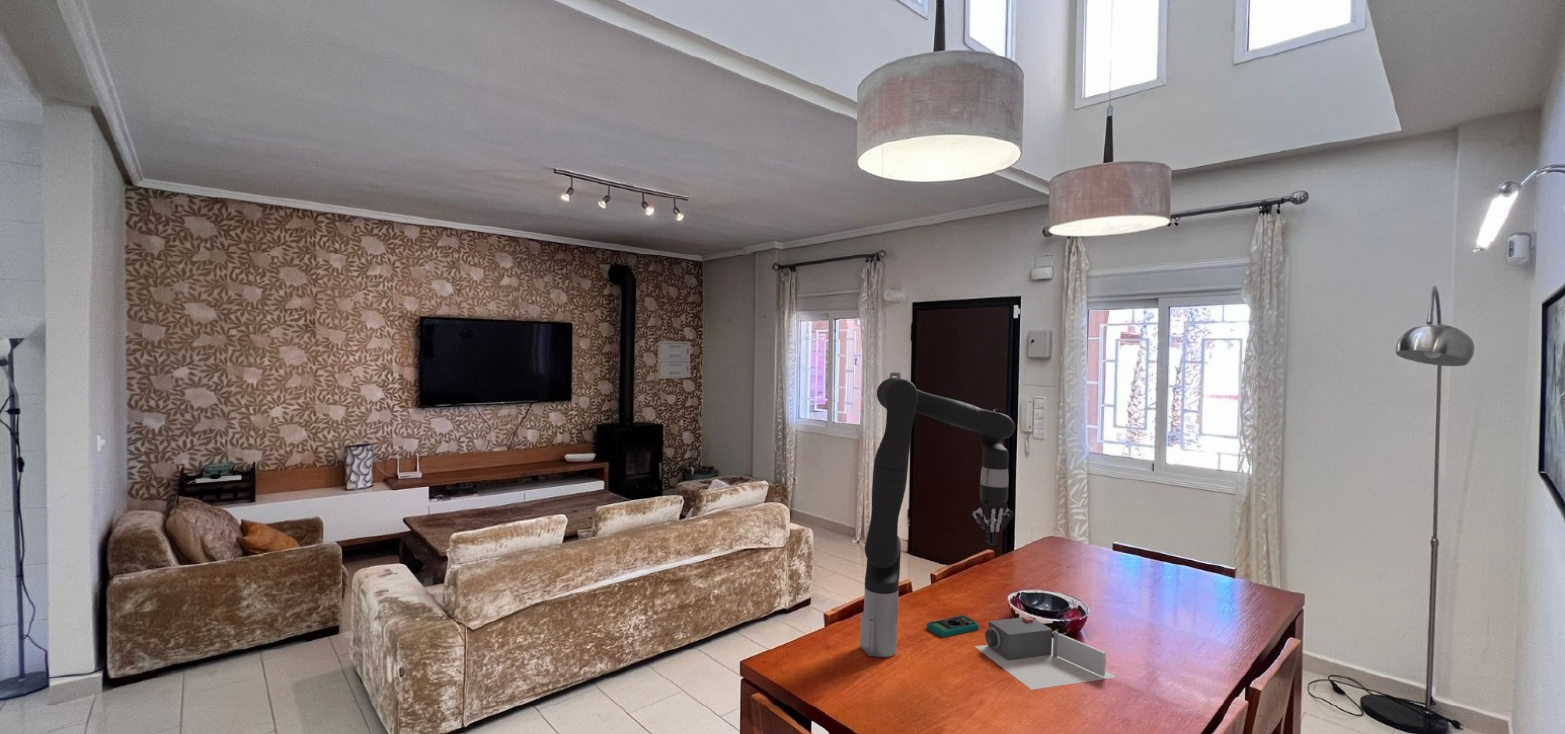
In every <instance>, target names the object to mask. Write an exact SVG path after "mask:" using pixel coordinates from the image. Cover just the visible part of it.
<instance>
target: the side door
mask: <svg viewBox="0 0 1565 734" xmlns="http://www.w3.org/2000/svg"><path fill="white" fill-rule="evenodd" d="M1052 638H1053V656H1058V657H1061V658H1063V659H1065V660H1067V661H1070V662H1072V663H1074V664H1076V665H1078V666H1081V667H1083V668H1085V669H1087V670H1090V671H1092V672H1094V673H1096V674H1099V675H1101V676H1105V670H1106V666H1107V665H1106V663H1107V662H1106V660H1107V658H1106V657H1107V652H1105V651H1103V650H1101V649H1098V648H1096V647H1093V646H1091V645H1089V644H1086V643H1083V642H1082V641H1078V640H1077V639H1075V638H1072V637H1069V636H1067V635H1064V634H1062V633H1059V631H1056V630H1055V631H1053V636H1052Z"/></svg>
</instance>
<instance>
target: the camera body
mask: <svg viewBox="0 0 1565 734" xmlns="http://www.w3.org/2000/svg"><path fill="white" fill-rule="evenodd" d="M984 635H985V637H984V639H985V640H986V643H987V644H986V645H988V646H989V647H990V648H992V649H993V650H994V651H996V652H997V653H999V654H1000V655H1001V656H1003V657H1004V658H1005V659H1007V660H1016V659H1023V658H1031V657H1039V656H1046V655H1051V652H1052V638H1053V629H1052V628H1050V627H1048V626H1047V625H1045V624H1044V623H1042V622H1040V621H1039V620H1037V619H1035V618H1033V617H1032V616H1023V617H1014V618H1013V617H1012V618H1006V619H1004V618H1003V619H996V620H989V621H988V629H987V630H986V631H985V634H984Z"/></svg>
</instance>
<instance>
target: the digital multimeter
mask: <svg viewBox="0 0 1565 734" xmlns="http://www.w3.org/2000/svg"><path fill="white" fill-rule="evenodd" d="M979 626H980V625H979V624H978V622H976V621H975V620H973V619H972V618H970V617H967V616H966V615H964V614H963V615H957V616H954V617H948V618H943V619H938V620H933V621H929V622H927V623H926V629H927V630H929V631H930V632H931V633H933V634H935V635H937V636H938V637H940V638H949V637H952V636H955V635H960V634H964V633H970V632H974V631H978V630H980V629H979V628H980V627H979Z"/></svg>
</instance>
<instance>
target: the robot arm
mask: <svg viewBox="0 0 1565 734" xmlns="http://www.w3.org/2000/svg"><path fill="white" fill-rule="evenodd" d="M876 397H877V400H878V402H879V404H880V405H881V406H882V407H883V408H884V409H886V420H885V428H884V434H883V437H882V439H881V441H880V443H879V446H878V448H877V451H876V453H875V457H874V462H873V470H872V471H873V472H872V482H871V484H872V485H871V514H870V522H869V527H868V531H867V532H868V533H867V536H866V541H865V543H864V544H865V545H864V554H865V557H866V569H865V576H864V595H863V597H864V598H863V599H864V600H863V601H864V603H863V612H861V613H860V630H859V631H860V632H859V633H860V634H859V647H860V649H861V650H862V651H863V652H864V653H865V654H866V655H867V656H868V657H878V658H889V657H892V656H894V655H896V653H897V646H898V644H897V642H898V641H897V640H898V639H897V638H898V614H899V613H898V610H899V586H900V585H899V584H900V573H901V572H900V571H901V553H902V552H901V551H902V550H901V549H902V547H901V544H902V543H901V540H900V537H899V536H898V535H899V534H898V531H899V529H898V528H899V527H898V526H899V517H900V513H901V508H902V505H903V501H904V497H905V494H906V493H905V492H906V487H907V480H908V472H909V460H910V449H911V440H912V439H911V438H912V429H913V424H914V420H915V415H916V413H917V414H920V415H923V416H926V417H929V418H931V419H935V420H938V421H939V422H943V423H945V424H948V425H951V426H953V427H957V428H960V429H964V430H969V431H973V432H979V438H980V444H981V449H982V462H981V463H982V465H981V472H980V485H979V486H980V487H979V499H980V503H979V505H978V508H977V510H973V511H971V515H972V516H973V518H974V520H975V521H976V523H977V524H978V525H979V527H980V528H981V529H983V530H985V531H986V532H985V533H986V534H985V541H986V542H987V544H988V545H990V546H996V545H997V543H998V541H999V540H998V538H999V537H998V536H999V532H1000V530H1005V528H1006V527H1007V525H1009V523H1010V521H1011V520H1012V518H1013V517H1014V515H1015V512H1014V511H1011V509H1009V508H1008V503H1007V501H1008V500H1009V450H1008V449H1007V448H1006V447H1005V446H1004V444H1003V440H1006V439H1009V438H1010V437H1012V436H1013V435H1014V432H1015V430H1016V423H1015V421H1014V420H1013V419H1012V418H1011V416H1009V415H1007V414H1004V413H1001V412H996V411H992V410H988V409H983V408H980V407H978V406H976V405H973V404H970V403H966V402H964V401H960V400H956V399H953V398H949V397H944V396H940V395H936V394H932V393H928V392H926V391H922V390H920V389H917V387H916V385H915V384H914V383H913V382H911V381H910V380H908V379H905V378H899V377H889V378H886V379H885V380H883V381H882V382H880V384H879V385H878V387H877V389H876Z"/></svg>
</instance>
